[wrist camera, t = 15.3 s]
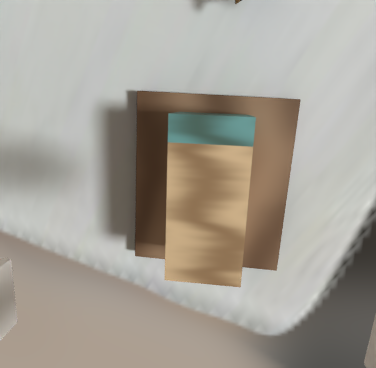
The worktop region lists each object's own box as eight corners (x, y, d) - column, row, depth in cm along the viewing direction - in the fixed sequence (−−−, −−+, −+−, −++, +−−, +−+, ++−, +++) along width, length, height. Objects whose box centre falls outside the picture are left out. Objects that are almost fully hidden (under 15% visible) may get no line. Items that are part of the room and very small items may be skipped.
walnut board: (138, 250, 32) (135, 255, 31) (140, 91, 28) (137, 90, 27) (274, 264, 31) (276, 270, 30) (297, 99, 27) (300, 99, 26)
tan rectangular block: (236, 252, 30) (248, 114, 27) (240, 287, 24) (255, 117, 21) (175, 246, 31) (179, 111, 27) (164, 280, 25) (168, 113, 22)
